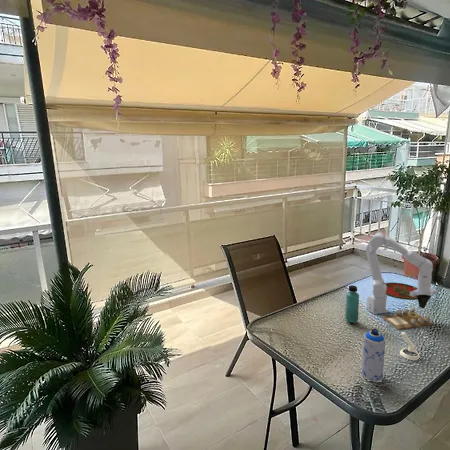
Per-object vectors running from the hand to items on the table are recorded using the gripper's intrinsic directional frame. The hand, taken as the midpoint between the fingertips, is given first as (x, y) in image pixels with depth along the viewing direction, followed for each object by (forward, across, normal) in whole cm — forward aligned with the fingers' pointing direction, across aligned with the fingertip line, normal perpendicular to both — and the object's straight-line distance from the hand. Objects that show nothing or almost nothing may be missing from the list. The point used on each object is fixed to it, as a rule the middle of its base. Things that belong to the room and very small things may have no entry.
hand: (421, 307), depth 160 cm
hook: (+7, -29, -25) cm, 39 cm away
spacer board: (+7, -9, 0) cm, 11 cm away
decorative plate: (+7, +15, +33) cm, 37 cm away
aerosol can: (+7, -53, -33) cm, 62 cm away
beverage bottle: (+7, -37, +6) cm, 38 cm away
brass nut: (+6, -5, 0) cm, 8 cm away
